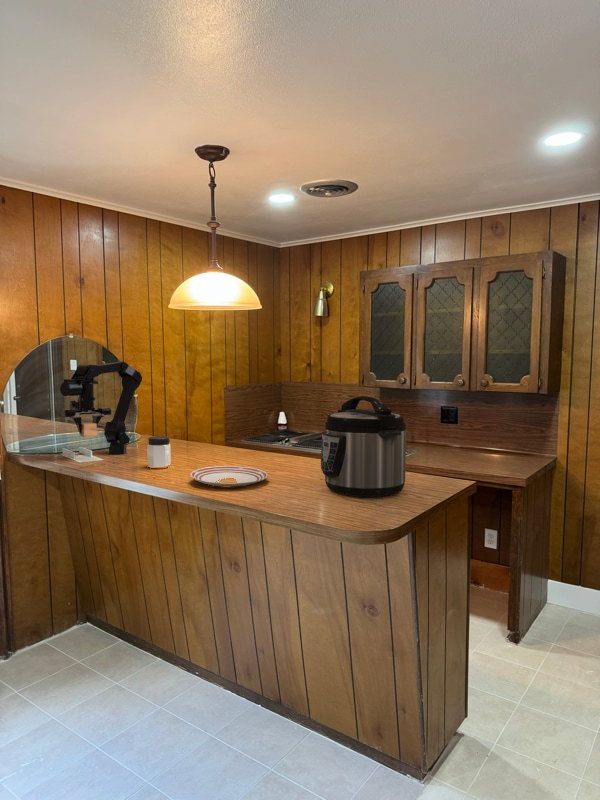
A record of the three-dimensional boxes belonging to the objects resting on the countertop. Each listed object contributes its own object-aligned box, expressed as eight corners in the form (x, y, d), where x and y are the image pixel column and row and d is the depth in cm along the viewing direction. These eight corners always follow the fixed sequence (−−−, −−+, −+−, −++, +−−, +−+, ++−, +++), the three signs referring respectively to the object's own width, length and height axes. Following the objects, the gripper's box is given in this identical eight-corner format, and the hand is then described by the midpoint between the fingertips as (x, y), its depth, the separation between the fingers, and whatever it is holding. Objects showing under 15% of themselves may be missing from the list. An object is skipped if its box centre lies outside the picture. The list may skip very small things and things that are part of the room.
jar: (163, 469, 217) (163, 439, 216) (144, 468, 219) (144, 438, 218) (173, 465, 225) (173, 436, 225) (155, 464, 227) (155, 435, 226)
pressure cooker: (324, 478, 204) (326, 393, 202) (402, 482, 201) (405, 394, 198) (316, 498, 175) (318, 398, 172) (407, 502, 171) (410, 400, 169)
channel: (59, 457, 240) (59, 448, 240) (83, 455, 247) (83, 446, 247) (79, 466, 222) (79, 456, 222) (103, 463, 229) (103, 453, 229)
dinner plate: (282, 480, 202) (282, 471, 202) (236, 495, 179) (236, 485, 179) (223, 471, 216) (223, 463, 216) (173, 484, 193) (173, 475, 193)
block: (80, 435, 228) (79, 423, 227) (92, 434, 231) (92, 422, 230) (84, 436, 224) (84, 424, 223) (96, 435, 227) (96, 423, 227)
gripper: (101, 393, 240) (101, 429, 241) (56, 394, 227) (57, 432, 229) (111, 394, 231) (112, 432, 232) (65, 396, 219) (66, 435, 220)
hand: (86, 432), depth 228 cm, fingers closed on block, 5 cm apart
